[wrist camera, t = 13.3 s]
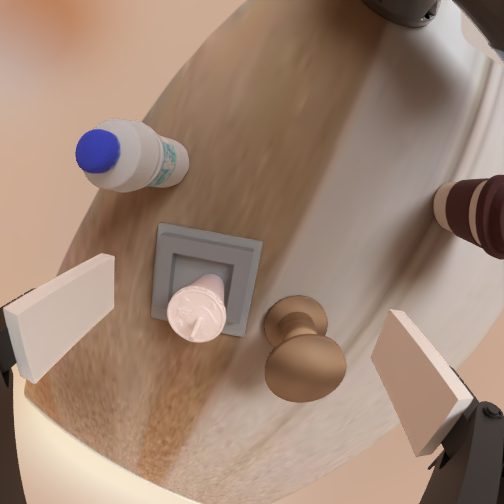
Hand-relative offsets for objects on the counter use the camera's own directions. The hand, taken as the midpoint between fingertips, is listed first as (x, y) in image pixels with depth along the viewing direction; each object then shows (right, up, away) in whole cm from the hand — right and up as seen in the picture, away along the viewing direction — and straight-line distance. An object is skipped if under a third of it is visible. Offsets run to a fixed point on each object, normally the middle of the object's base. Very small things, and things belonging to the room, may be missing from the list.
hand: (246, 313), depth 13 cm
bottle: (-11, +14, +24) cm, 30 cm away
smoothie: (-5, -2, +27) cm, 27 cm away
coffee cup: (+30, +10, +24) cm, 40 cm away
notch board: (-7, -1, +27) cm, 28 cm away
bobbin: (+6, -8, +28) cm, 30 cm away
